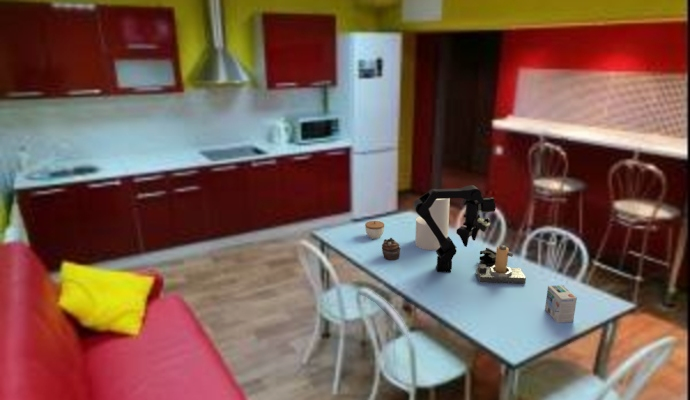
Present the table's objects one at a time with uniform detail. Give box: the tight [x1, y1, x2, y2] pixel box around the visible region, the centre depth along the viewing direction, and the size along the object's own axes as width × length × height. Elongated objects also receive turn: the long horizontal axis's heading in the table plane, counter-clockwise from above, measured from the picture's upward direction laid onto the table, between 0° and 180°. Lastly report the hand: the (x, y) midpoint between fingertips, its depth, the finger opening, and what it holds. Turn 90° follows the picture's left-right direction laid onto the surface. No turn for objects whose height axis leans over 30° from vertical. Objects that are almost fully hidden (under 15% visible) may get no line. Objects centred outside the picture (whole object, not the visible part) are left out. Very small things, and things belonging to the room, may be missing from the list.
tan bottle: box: [495, 244, 514, 273], centre depth 218 cm, size 7×5×13 cm
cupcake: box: [381, 237, 402, 261], centre depth 244 cm, size 10×10×10 cm
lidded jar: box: [364, 220, 385, 240], centre depth 270 cm, size 11×11×9 cm
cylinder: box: [414, 198, 451, 251], centre depth 256 cm, size 17×17×28 cm
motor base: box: [475, 263, 527, 285], centre depth 220 cm, size 20×10×5 cm, turn 85°
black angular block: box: [479, 247, 496, 267], centre depth 235 cm, size 10×7×7 cm
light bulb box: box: [544, 284, 578, 324], centre depth 189 cm, size 11×7×11 cm, turn 5°
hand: (469, 243), depth 228 cm, fingers open, 9 cm apart
